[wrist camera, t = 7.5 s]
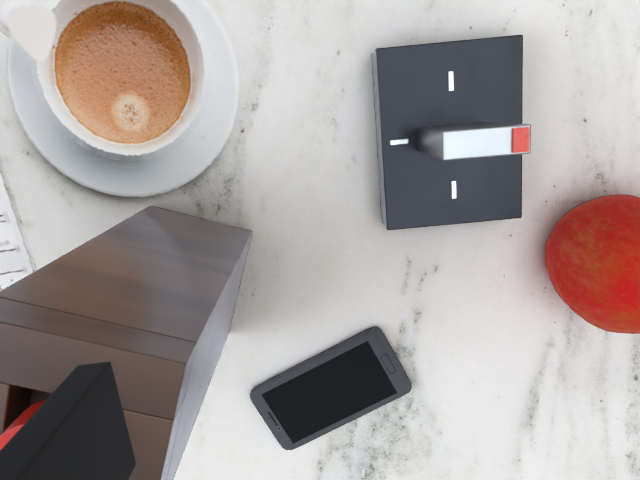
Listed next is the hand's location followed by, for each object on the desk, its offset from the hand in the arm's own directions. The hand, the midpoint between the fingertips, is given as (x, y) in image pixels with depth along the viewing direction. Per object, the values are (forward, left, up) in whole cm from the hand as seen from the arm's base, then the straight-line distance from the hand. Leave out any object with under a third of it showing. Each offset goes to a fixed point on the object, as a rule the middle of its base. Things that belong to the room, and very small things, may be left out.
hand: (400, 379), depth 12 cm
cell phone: (+19, +5, -32) cm, 38 cm away
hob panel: (-6, +8, -32) cm, 34 cm away
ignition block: (+11, -10, -32) cm, 36 cm away
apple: (0, +24, -33) cm, 40 cm away
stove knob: (-6, +8, -29) cm, 31 cm away
